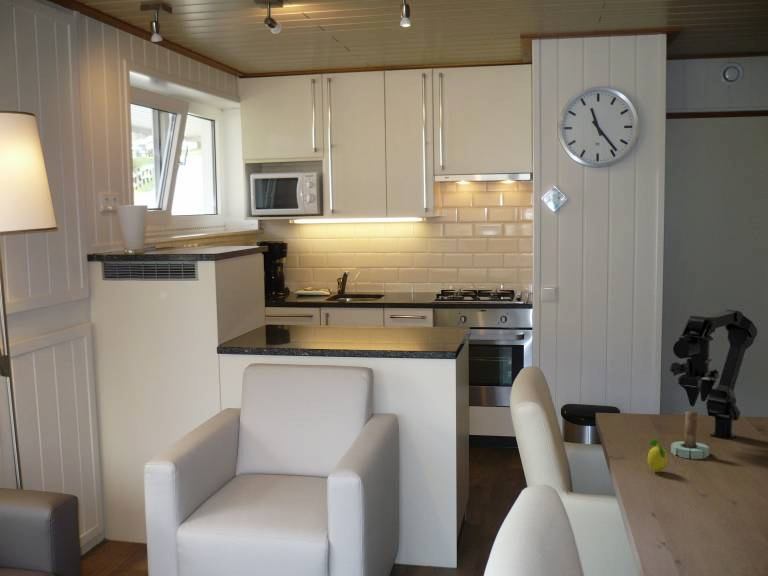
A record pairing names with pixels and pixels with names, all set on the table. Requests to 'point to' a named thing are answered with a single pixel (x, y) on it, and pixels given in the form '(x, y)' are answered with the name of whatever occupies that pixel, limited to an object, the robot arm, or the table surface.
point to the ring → (690, 450)
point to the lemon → (657, 456)
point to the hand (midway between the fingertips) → (697, 403)
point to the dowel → (690, 429)
